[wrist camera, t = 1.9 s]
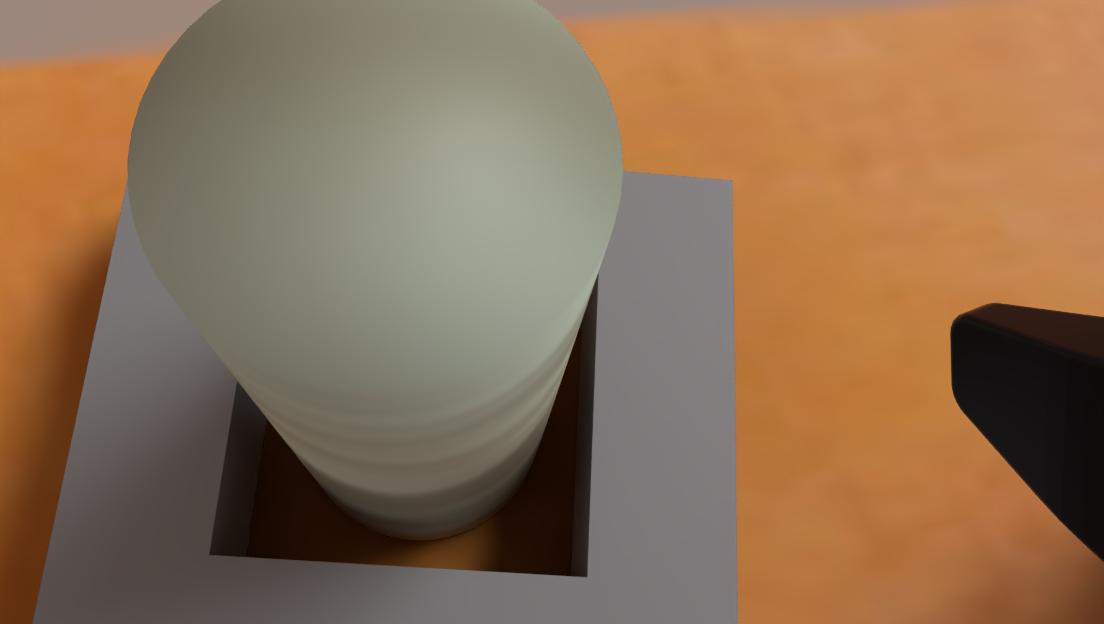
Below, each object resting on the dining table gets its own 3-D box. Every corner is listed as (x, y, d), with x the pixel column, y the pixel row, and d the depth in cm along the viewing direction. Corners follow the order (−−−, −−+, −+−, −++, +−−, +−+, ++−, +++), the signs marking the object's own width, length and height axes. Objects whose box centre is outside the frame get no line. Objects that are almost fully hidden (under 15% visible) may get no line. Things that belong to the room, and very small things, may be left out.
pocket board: (700, 1051, 18) (743, 1121, 15) (16, 1030, 17) (-70, 1100, 15) (700, 238, 24) (732, 180, 21) (177, 196, 23) (137, 130, 20)
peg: (533, 547, 21) (616, 406, 10) (290, 532, 21) (79, 369, 9) (546, 320, 23) (629, -27, 11) (321, 303, 22) (175, -71, 11)
